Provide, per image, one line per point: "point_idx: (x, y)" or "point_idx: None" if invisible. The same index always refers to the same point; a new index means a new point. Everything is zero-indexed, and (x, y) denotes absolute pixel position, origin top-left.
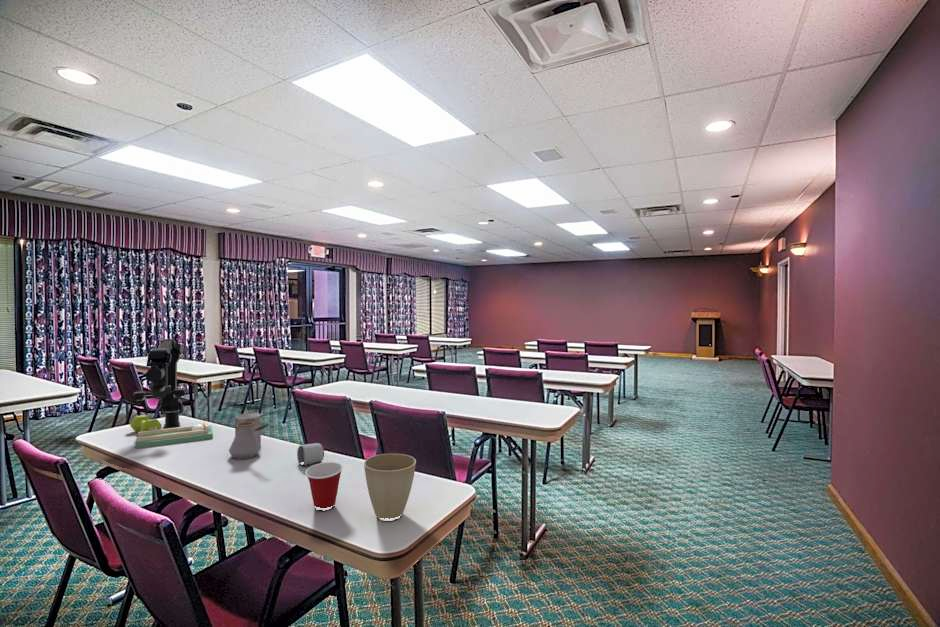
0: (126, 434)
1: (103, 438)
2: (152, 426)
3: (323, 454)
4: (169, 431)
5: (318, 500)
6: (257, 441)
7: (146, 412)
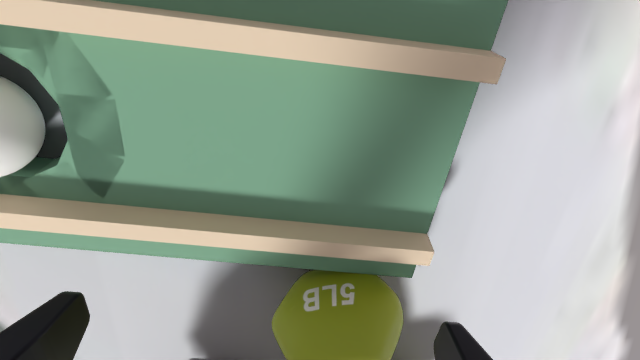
0: None
1: (546, 341)
2: (332, 310)
3: None
4: (221, 218)
5: None
6: None
7: (473, 356)
